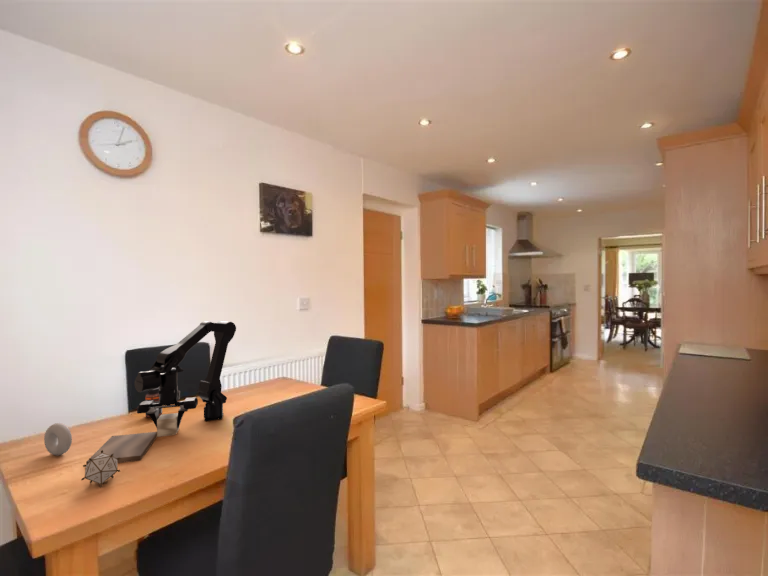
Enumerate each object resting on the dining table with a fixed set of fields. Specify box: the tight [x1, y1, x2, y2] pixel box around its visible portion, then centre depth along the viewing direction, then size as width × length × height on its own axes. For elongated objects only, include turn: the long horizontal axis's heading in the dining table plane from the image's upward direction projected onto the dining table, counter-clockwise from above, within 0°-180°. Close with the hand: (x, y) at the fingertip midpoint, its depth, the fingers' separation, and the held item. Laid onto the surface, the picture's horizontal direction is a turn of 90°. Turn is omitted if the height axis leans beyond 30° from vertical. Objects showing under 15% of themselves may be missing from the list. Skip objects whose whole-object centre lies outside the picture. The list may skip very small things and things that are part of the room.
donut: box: [43, 422, 73, 456], centre depth 120 cm, size 10×3×10 cm, turn 71°
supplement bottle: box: [144, 386, 163, 419], centre depth 156 cm, size 6×6×11 cm
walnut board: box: [85, 431, 158, 465], centre depth 124 cm, size 14×20×2 cm
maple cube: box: [156, 412, 180, 438], centre depth 138 cm, size 6×6×6 cm
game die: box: [80, 450, 121, 488], centre depth 103 cm, size 9×8×10 cm
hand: (168, 428), depth 138 cm, fingers closed on maple cube, 6 cm apart
